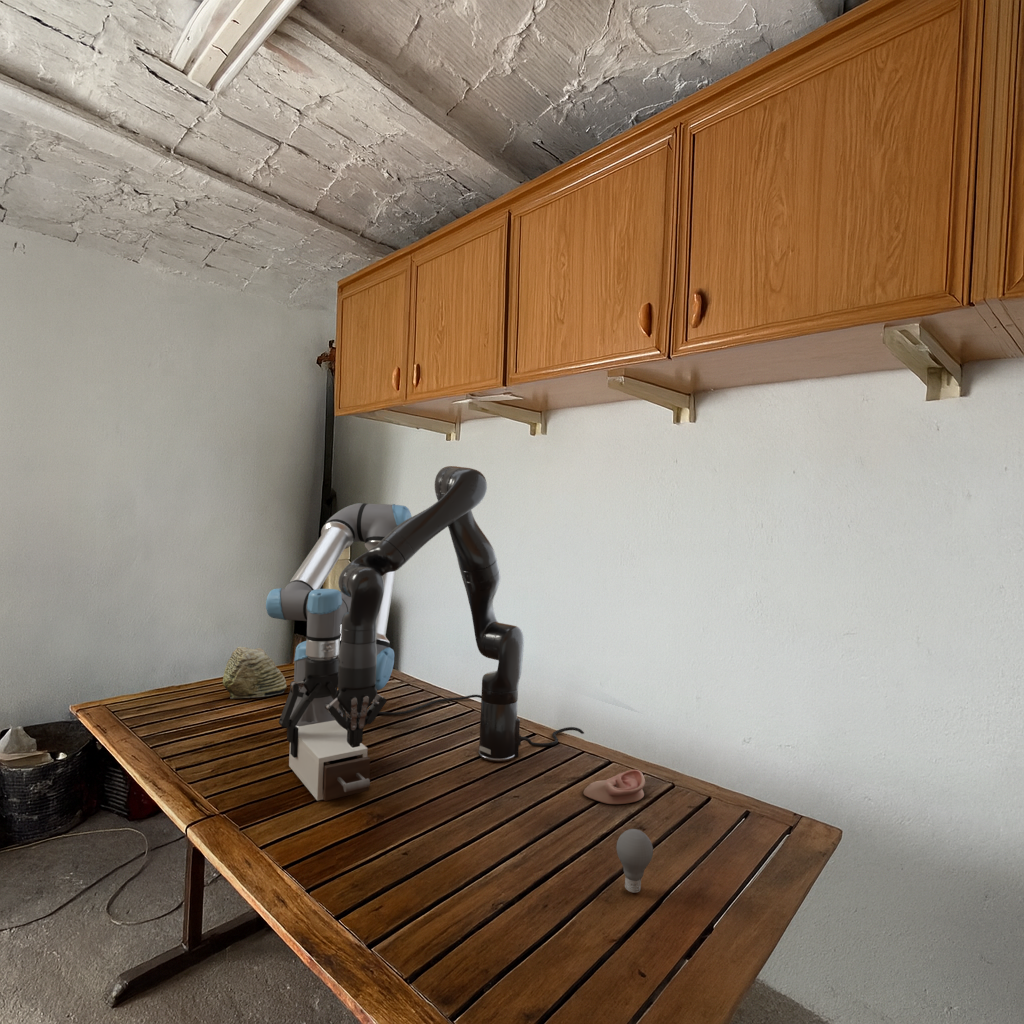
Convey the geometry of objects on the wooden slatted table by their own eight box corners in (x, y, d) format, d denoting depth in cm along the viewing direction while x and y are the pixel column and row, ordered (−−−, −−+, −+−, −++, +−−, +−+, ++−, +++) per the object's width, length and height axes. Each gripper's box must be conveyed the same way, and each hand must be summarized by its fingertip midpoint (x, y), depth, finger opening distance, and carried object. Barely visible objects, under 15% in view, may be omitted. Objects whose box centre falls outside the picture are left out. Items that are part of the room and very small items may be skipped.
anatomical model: (582, 782, 137) (587, 761, 148) (581, 800, 137) (586, 778, 148) (645, 790, 134) (645, 768, 145) (644, 809, 134) (644, 785, 145)
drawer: (379, 800, 131) (380, 767, 131) (334, 812, 125) (335, 778, 125) (337, 759, 150) (339, 730, 150) (297, 767, 145) (298, 737, 145)
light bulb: (610, 879, 108) (613, 822, 108) (644, 879, 109) (647, 822, 109) (619, 902, 102) (622, 840, 102) (655, 901, 103) (658, 840, 103)
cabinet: (366, 789, 138) (367, 748, 138) (317, 801, 132) (318, 758, 132) (333, 756, 154) (335, 720, 154) (288, 765, 148) (290, 727, 148)
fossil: (218, 695, 195) (220, 647, 195) (278, 685, 208) (279, 640, 207) (228, 703, 189) (230, 653, 188) (289, 692, 201) (290, 645, 201)
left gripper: (275, 666, 137) (271, 766, 138) (376, 654, 151) (372, 746, 151) (266, 658, 143) (262, 754, 144) (363, 648, 157) (360, 736, 157)
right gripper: (332, 670, 123) (329, 758, 123) (395, 662, 131) (392, 745, 131) (319, 661, 129) (316, 745, 130) (380, 654, 137) (377, 734, 137)
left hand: (318, 750), depth 147 cm, fingers closed on cabinet, 11 cm apart
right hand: (354, 745), depth 130 cm, fingers closed
